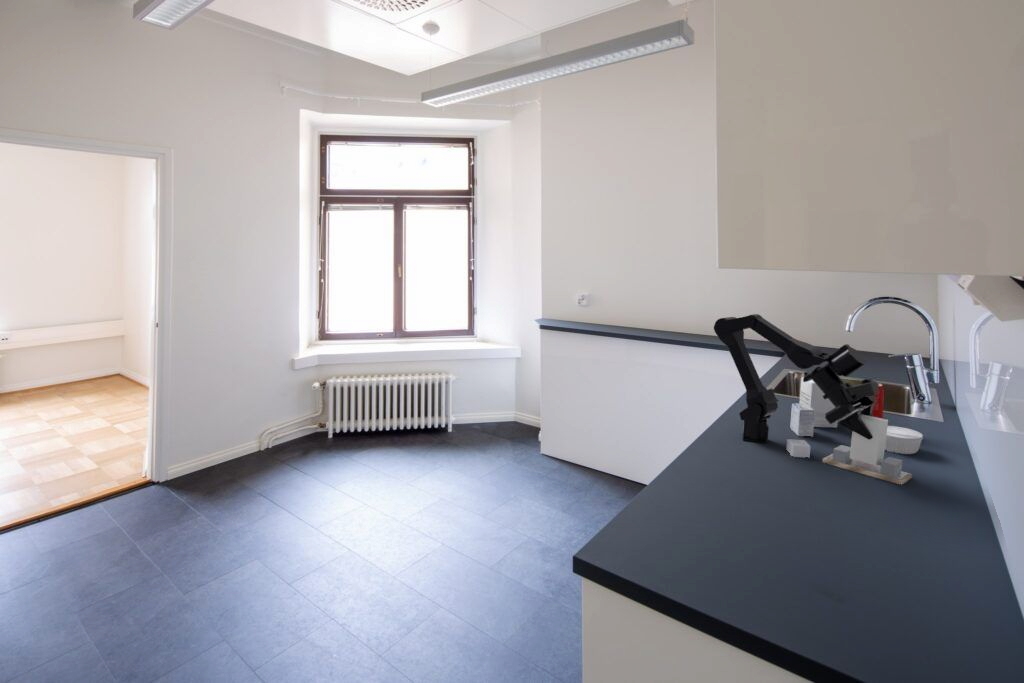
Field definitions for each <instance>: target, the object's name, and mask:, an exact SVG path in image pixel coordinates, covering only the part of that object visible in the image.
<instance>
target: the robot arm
mask: <svg viewBox="0 0 1024 683" xmlns="http://www.w3.org/2000/svg"><path fill="white" fill-rule="evenodd" d="M747 329H748V330H749V329H750V330H752V331H754V332H755V333H757V334H758V335H760V336H761V337H762V338H764V339H765V340H767V341H769V343H771V344H772V345H774V346H776V347H777V348H779V349H780V350H781V351H782V352H783V353H784V354H785V355H786V357H787V359H789V361H791V363H793V364H794V365H795V366H796V367H797V368H799V369H801V370H807V369H810V368H811V369H812V368H814V367H815V368H814V369H812V370H811V371H804V372H803V377H804V378H803V382H807V381H810V380H813V381H814V382H815V384H816V385H817V386H818V387H819V388H820V390H821V391H822V392H823V393H824V394H825V395H824V396H822V397H823V398H824V399H829V400H830V402H831V403H832V404H833V405H834V406H835V408H834V409H832V410H831V411H829V412H827V413H826V416H825V419H826V420H827V421H828V422H829V424H832V423H835V422H836V421H837V420H838V423H837V426H838V425H840V426H842V427H843V428H846V429H848V430H850V431H854V432H856V433H858V434H859V435H861V436H863V437H865V438H867V439H869V440H870V439H871V438H873V436H872V435H871V433H870V431H869V430H868V428H867V427H866V425H865V424H864V422H863V421H862V419H861V414H862V415H867V416H872V417H873V414H872V411H873V407H874V404H873V403H875V402H876V401H878V400H877V399H876V398H875V397H874V396H873V395H876V393H880V392H879V390H878V387H879V384H880V383H879V384H877V381H876V380H873V379H872V378H871V377H869V378H865V379H864V378H863V379H862V380H861V383H860V384H857V385H853V384H851V383H850V382H845V381H844V380H843V379H842V378H841V376H843V377H848V376H850V375H852V374H853V373H855V372H856V371H859V370H860V368H863V367H864V366H866V364H867V360H866V358H865V356H864V355H863V354H862V353H861V352H860V351H858V350H857V349H855V348H853V347H852V346H850V344H848V343H847V344H843V345H842V346H841V347H839V349H838V350H836V351H834V352H833V353H827V352H824V351H822V350H821V349H820V348H819V347H817V346H815V345H812V344H811V343H808V342H805V341H802V340H800V339H796V338H794V337H792V336H791V335H789V334H788V333H786V332H785V331H783V330H782V329H781V328H779V327H777V326H776V325H774V324H772V323H771V322H770V321H768V320H767V319H765V318H764V317H763V316H762V315H761V314H758V313H757V314H756V313H753V314H748V315H746V316H742V317H735V316H728V317H721V318H718V319H717V320H716V321H715V322H714V325H713V331H714V333H715V334H716V335H717V337H718V339H719V340H720V341H721V343H722V344H724V346H726V347H727V349H728V351H729V353H730V355H731V358H732V360H733V362H734V365H735V367H736V370H737V372H738V374H739V376H740V379H741V381H742V383H743V386H744V388H745V392H746V394H745V395H746V396H745V402H746V406H747V407H745V409H743V410H742V411H740V412H739V417H740V420H741V421H743V428H742V436H741V437H742V439H741V440H743V441H747V442H756V443H767V440H768V439H769V424H768V421H767V420H768V419H770V418H771V416H772V415H773V414H775V413H776V411H777V410H778V408H779V406H778V402H779V399H778V398H777V397H776V396H775V392H774V389H773V388H766V386H764V385H763V382H762V381H761V379H760V375H759V374H758V371H757V370H756V367H755V365H754V362H753V361H752V358H751V356H750V353H749V351H748V349H747V346H746V344H745V341H744V340H745V338H744V337H745V331H744V330H747ZM823 364H824V366H819V365H823ZM825 364H826V365H825ZM871 404H873V405H871ZM839 420H840V421H839Z"/></svg>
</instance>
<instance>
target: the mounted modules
mask: <svg viewBox="0 0 1024 683" xmlns="http://www.w3.org/2000/svg"><path fill="white" fill-rule="evenodd" d="M850 448H851V446H847V445H843V444H840V445H837V447H834V448H833V451H832V454H833V459H832V460H836V461H840V462H843V463H846V462H847V461H849V460H851V458H849V457H850ZM903 461H904V460H903V459H898V458H895V457H890V456H888V457H886V458H885V459H883V461H881V463H880V466H881V469H880V473H883V474H886V475H890V476H893V477H894V476H896V475H897V474H899V473H900V472H901V471H903V470H902V469H903V468H902V467H903Z"/></svg>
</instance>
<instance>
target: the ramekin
mask: <svg viewBox="0 0 1024 683" xmlns="http://www.w3.org/2000/svg"><path fill="white" fill-rule="evenodd" d="M923 438H924V435H923V433H921V432H919V431H917V430H914V429H911V428H908V427H901V426H896V425H888V426H887V434H886V442H885V450H884V451H886V450H887V452H890V453H894V452H895V454H899V453H900V454H901V455H913V454H916V453H917V452H918V451H919V449H920V446H921V444H922V440H924V439H923Z"/></svg>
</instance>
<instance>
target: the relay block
mask: <svg viewBox="0 0 1024 683" xmlns="http://www.w3.org/2000/svg"><path fill="white" fill-rule="evenodd" d="M811 448H812V446H811V445H810V444H809V443H808V442H807V441H806V440H805V439H790V438H788V439H787V438H786V450H787V451H788V452H789V453H790V454H789V453H788V452H787V451H786V452H787V453H788V454H789V455H790V456H791V457H792V456H793V457H792V458H794V457H795V458H805V457H808V458H809V459H810V455H811ZM808 458H807V459H808Z"/></svg>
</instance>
